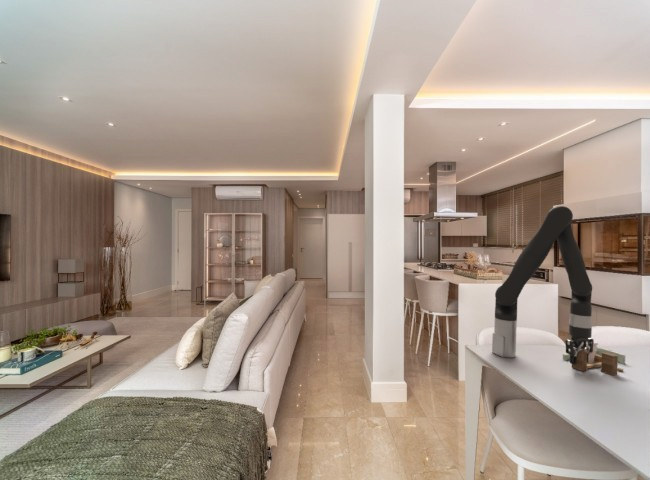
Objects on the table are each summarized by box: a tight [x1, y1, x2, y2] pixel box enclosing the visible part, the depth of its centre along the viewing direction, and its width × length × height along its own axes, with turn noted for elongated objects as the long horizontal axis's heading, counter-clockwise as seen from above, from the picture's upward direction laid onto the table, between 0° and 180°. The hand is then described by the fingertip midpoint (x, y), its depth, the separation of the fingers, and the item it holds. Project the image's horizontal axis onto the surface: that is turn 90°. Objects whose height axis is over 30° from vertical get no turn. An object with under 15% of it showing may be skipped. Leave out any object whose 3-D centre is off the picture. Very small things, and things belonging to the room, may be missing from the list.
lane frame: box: [562, 346, 626, 365], centre depth 142 cm, size 24×11×4 cm, turn 108°
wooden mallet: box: [571, 348, 602, 372], centre depth 138 cm, size 20×10×8 cm, turn 108°
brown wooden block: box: [600, 352, 624, 376], centre depth 130 cm, size 10×4×8 cm, turn 108°
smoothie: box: [587, 340, 599, 364], centre depth 141 cm, size 6×6×14 cm
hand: (579, 363), depth 132 cm, fingers open, 6 cm apart
